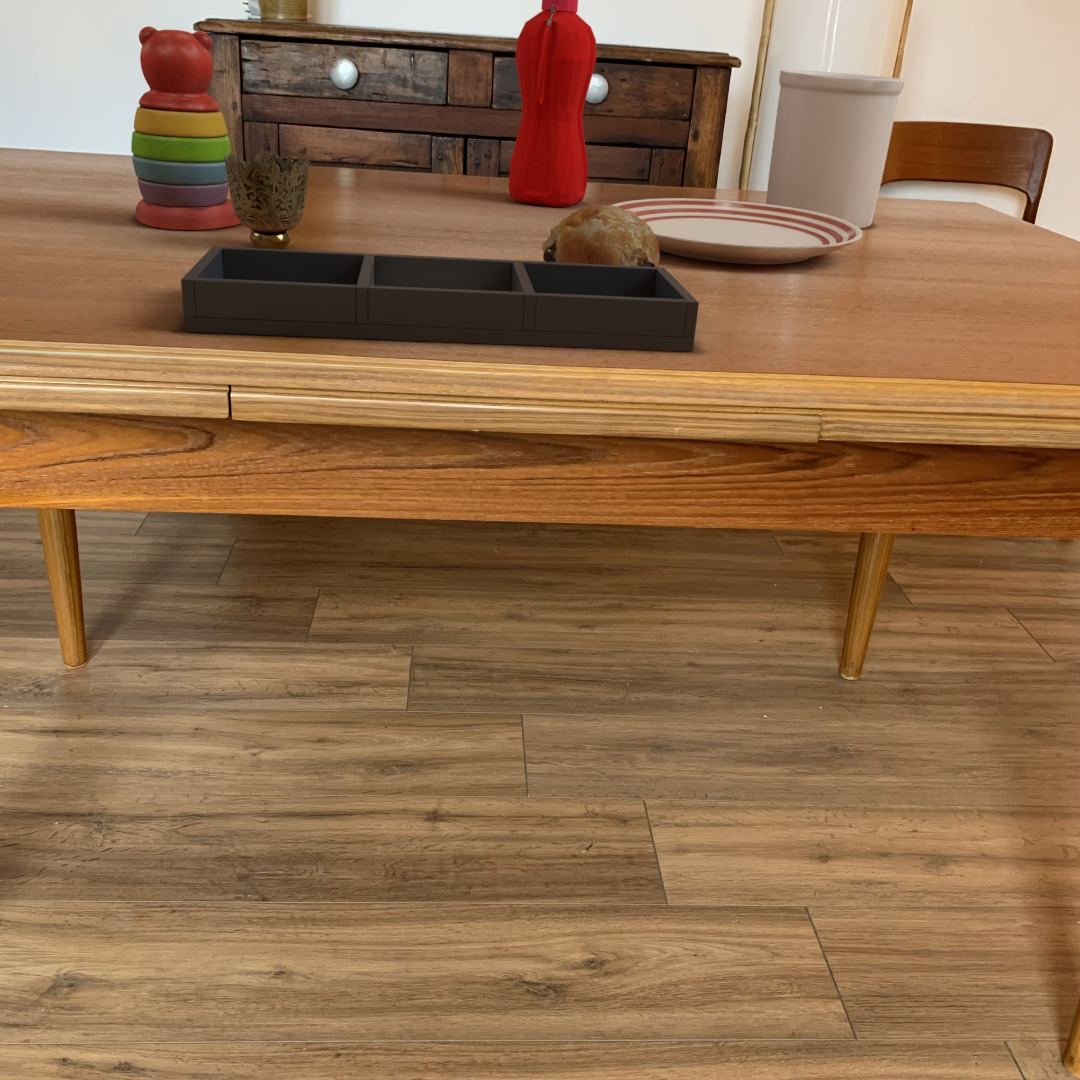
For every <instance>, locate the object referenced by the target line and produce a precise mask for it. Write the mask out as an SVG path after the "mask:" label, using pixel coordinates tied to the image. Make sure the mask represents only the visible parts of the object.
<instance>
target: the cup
mask: <svg viewBox="0 0 1080 1080" xmlns="http://www.w3.org/2000/svg"><path fill="white" fill-rule="evenodd" d="M224 161H225V165H226V172H227V178H228V184H229V187H228V191H229V195H230V199H231V201H232V205H233V209H234V212H235V214H236V216H237V218H238V219H239V221H240V222H241V223H240V224H242V225H243V226H244V227H246V228H247V229H249V230H251V232H250V234H249V240H250V243H251V245H252V246H253V247H254V248H267V249H286V248H288V247H289V245H290V243H291V239H292V238H291V235H290V233H289V231H290V230H293V229H295V228H296V227H297V226H298V225H299V224H300V222H301V221H302V220H303V216H304V213H305V211H306V203H307V195H308V184H309V174H310V172H309V171H310V167H309V165H310V164H311V159H308V158H305V159H303V157H302V156H299V158H298V159H297V161H296V162H295V161H294V159H293V156H292V155H291V154H289V155H288V156H287V159H286V160H285V159H283V157H281V156H280V155H278V154H277V153H276V152H271V153H269V154H268V155H267V156H264V155H263V154H261V153H258V152H257V153H256V154H255V155H254V160H252V161H244V159H242V155H241V153H238V154H237V155H235V154H234V153H233V152H232V153H230V154H229V155H228V159H227V156H226V155H225V157H224Z"/></svg>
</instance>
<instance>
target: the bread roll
mask: <svg viewBox="0 0 1080 1080" xmlns="http://www.w3.org/2000/svg"><path fill="white" fill-rule="evenodd" d="M612 205H613V204H594V205H589V206H586V207H584V208H583V207H582V209H578V210H577V211H574V212H572V213H570V214H569V215H568V216H566V217H565V218H563V219H562V220H561V221H560V222H559V223H558V224H556V226H553V227H552V228H551V229H550V235H549V236H548V237H547V239H546V240H544V241H543V243H542V246H541V250H542V252H543V255H542V258H543V262H560V263H581V264H602V265H623V266H644V267H659V264H660V259H661V252H660V251H661V250H659V245H658V242H657V239H656V236H655V235H654V233H653V231H652V230H651V228H650V226H649V225H648V224H647V223H646V222H645V221H644V220H642V219H640V218H639V217H637V214H636V213H634V212H633V211H629V210H626V211H625V210H623V209H621V208H619V207H616V206H612Z"/></svg>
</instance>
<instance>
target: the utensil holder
mask: <svg viewBox="0 0 1080 1080" xmlns="http://www.w3.org/2000/svg"><path fill="white" fill-rule="evenodd" d="M778 81H779V85H780V86H779V87H780V88H779V89H780V90H779V94H778V102H777V109H776V115H775V124H774V132H773V140H772V146H771V147H772V148H771V156H770V164H769V171H768V180H767V189H766V190H767V191H766V198H765V204H769V205H777V206H784V207H791V208H797V209H803V210H808V211H813V212H818V213H822V214H826V215H830V216H833V217H837V218H840V219H842V220H845V221H847V222H850V223H852V224H854V225H855V226H857V227H858V228H860V229H866V228H868V227H870V226H871V225H872V223H873V220H874V217H875V216H874V215H875V212H876V208H877V203H878V200H879V193H880V190H881V185H882V181H883V176H884V171H885V166H886V162H887V161H886V160H887V156H888V151H889V147H890V141H891V138H892V137H891V136H892V131H893V127H894V121H895V116H896V111H897V107H898V101H899V96H900V94H901V93H902V91H903V88H904V83H905V80H904V79H903V78H897V77H892V76H891V77H890V76H882V75H870V74H859V73H858V74H857V73H845V72H832V71H817V70H803V69H801V70H799V69H781V70H780V72H779V77H778Z"/></svg>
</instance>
